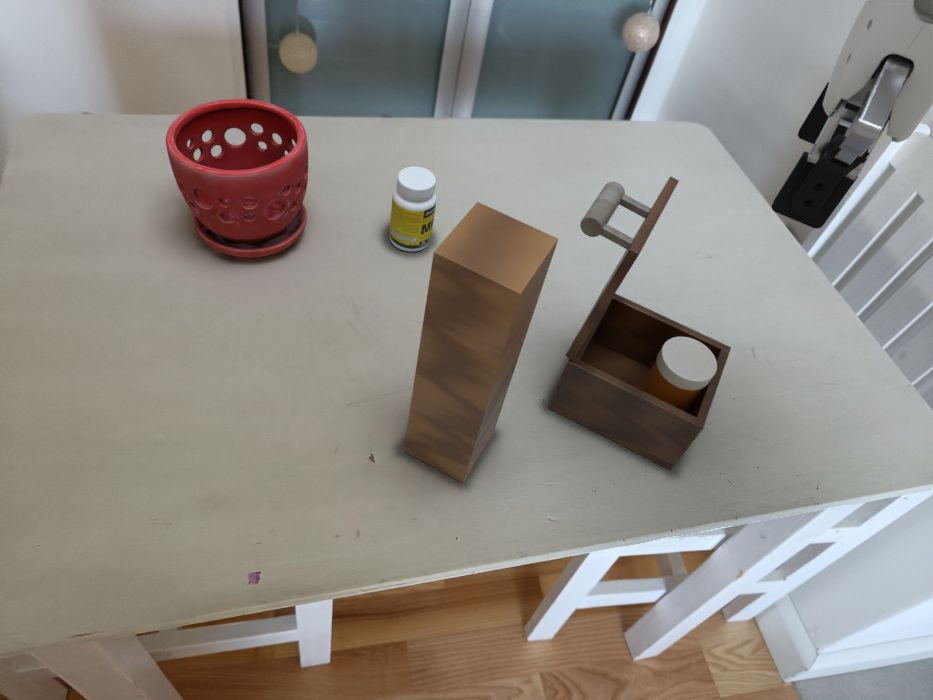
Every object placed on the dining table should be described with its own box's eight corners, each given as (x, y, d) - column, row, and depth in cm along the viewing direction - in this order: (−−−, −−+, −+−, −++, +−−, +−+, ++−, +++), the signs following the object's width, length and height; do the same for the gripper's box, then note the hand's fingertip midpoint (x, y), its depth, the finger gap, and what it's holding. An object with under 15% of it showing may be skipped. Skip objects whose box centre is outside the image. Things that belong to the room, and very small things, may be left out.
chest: (699, 391, 70) (731, 347, 64) (670, 470, 63) (703, 428, 58) (586, 337, 72) (607, 289, 67) (547, 407, 66) (567, 361, 60)
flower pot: (319, 196, 80) (317, 104, 71) (299, 276, 72) (293, 183, 62) (204, 181, 79) (186, 84, 69) (169, 261, 70) (144, 163, 61)
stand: (493, 433, 63) (558, 238, 45) (462, 483, 59) (520, 293, 41) (436, 403, 64) (477, 201, 46) (403, 451, 60) (433, 251, 42)
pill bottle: (688, 403, 68) (723, 353, 61) (673, 439, 65) (708, 390, 58) (641, 379, 69) (671, 327, 63) (624, 414, 66) (654, 363, 59)
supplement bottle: (424, 257, 76) (432, 197, 70) (383, 246, 76) (387, 185, 70) (435, 230, 79) (444, 170, 73) (396, 219, 79) (401, 158, 73)
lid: (679, 180, 56) (624, 151, 56) (639, 254, 49) (578, 220, 50) (613, 288, 66) (567, 263, 67) (573, 360, 60) (523, 332, 60)
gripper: (1103, -35, 26) (847, 279, 39) (1069, -134, 37) (875, 140, 50) (908, -98, 28) (723, 225, 41) (928, -176, 38) (776, 101, 51)
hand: (807, 178), depth 45 cm, fingers open, 9 cm apart
